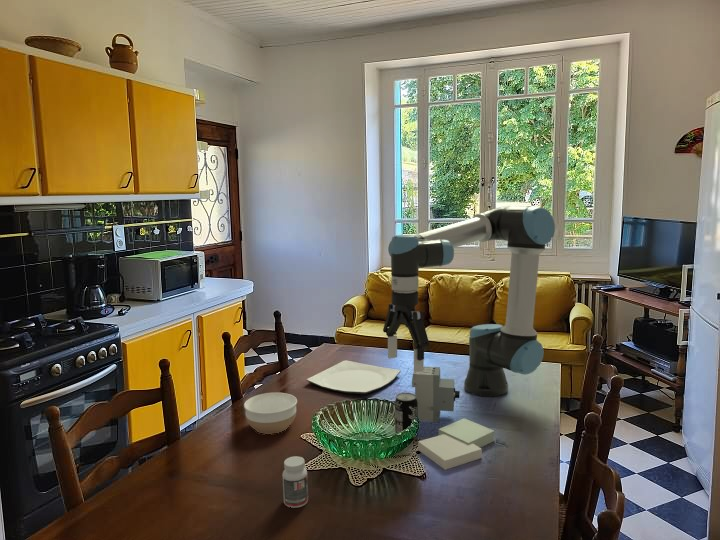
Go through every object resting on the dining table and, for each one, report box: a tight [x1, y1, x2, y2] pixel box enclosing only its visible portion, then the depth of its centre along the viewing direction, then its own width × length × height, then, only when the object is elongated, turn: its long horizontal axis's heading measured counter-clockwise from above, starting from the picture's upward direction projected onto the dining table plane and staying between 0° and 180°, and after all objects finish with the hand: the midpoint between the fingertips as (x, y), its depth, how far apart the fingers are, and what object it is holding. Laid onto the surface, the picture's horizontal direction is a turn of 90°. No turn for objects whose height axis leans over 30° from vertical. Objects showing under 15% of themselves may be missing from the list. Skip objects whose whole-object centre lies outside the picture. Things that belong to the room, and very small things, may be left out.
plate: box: [306, 359, 402, 395], centre depth 199 cm, size 29×29×3 cm
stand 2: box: [417, 434, 483, 471], centre depth 142 cm, size 12×12×2 cm
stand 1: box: [438, 418, 495, 449], centre depth 149 cm, size 11×11×3 cm
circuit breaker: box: [411, 366, 461, 423], centre depth 164 cm, size 8×14×15 cm, turn 78°
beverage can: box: [394, 392, 419, 437], centre depth 152 cm, size 7×7×12 cm
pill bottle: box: [281, 455, 309, 509], centre depth 121 cm, size 6×6×10 cm
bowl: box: [243, 392, 298, 435], centre depth 161 cm, size 16×16×8 cm
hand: (405, 364), depth 150 cm, fingers open, 13 cm apart
